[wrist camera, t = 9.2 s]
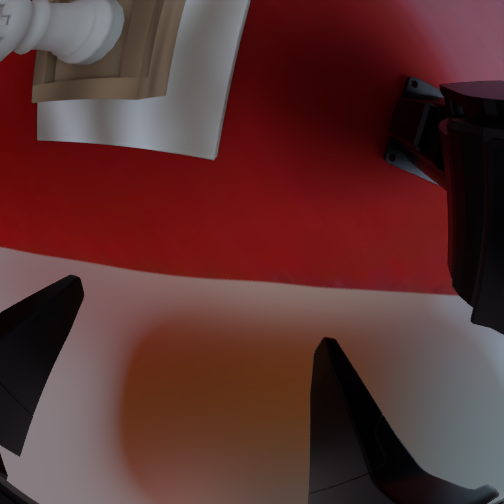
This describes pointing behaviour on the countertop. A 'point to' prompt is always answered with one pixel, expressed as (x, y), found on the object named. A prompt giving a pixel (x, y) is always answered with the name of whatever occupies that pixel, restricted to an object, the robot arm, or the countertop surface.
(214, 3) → the board
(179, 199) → the countertop surface
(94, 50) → the rook chess piece
